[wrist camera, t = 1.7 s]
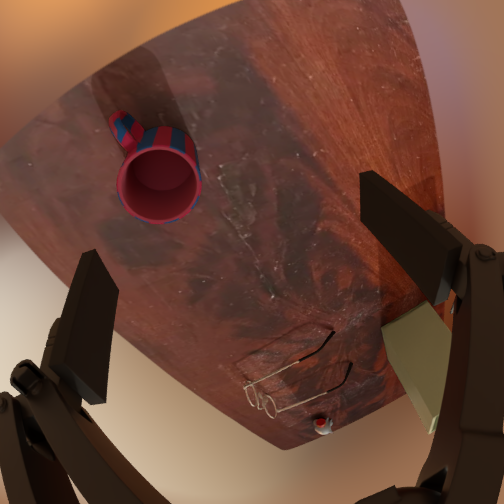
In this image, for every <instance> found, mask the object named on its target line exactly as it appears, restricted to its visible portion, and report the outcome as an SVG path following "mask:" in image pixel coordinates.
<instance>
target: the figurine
mask: <svg viewBox="0 0 504 504" xmlns="http://www.w3.org/2000/svg"><path fill="white" fill-rule="evenodd" d="M328 419H329V418H327V419H326V420H325V419H322V418H321V419H316V420H314V422H313V424H314V426H315V430H316V431H317V432H318V433H320V434H328V433H333V432H332V431H331V427H330V426H331V425H332V424H333V422H332V419H331V421H330V422H329V423H328Z"/></svg>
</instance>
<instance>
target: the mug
mask: <svg viewBox="0 0 504 504" xmlns="http://www.w3.org/2000/svg"><path fill="white" fill-rule="evenodd" d="M123 125H124V126H125V127H126V128H127V129H128V130H129V131H130V132H131V134H132V135H133V136H134V138H135V139H134V138H133V137H132V136H131V135H130V134H129V133H128V131H127V130H126V129H125V127H124V126H123ZM109 127H110V130H111V132H112V134H113V135H114V137H115V138H116V140H117V141H118V142H119V143H120V145H121V146H122V147H123V148H124V149H125V150H126V151H127V152H128V154H127V156H126V158H125V160H124V162H123V164H122V166H121V168H120V170H119V173H118V176H117V184H116V185H117V193H118V197H119V199H120V201H121V203H122V205H123V206H124V208H125V209H126V210H127V211H128V212H129V213H130V214H131V215H132V216H134V217H135V218H137V219H139V220H141V221H143V222H147V223H151V224H166V223H171V222H174V221H176V220H178V219H180V218H182V217H184V216H185V215H186V214H188V213H189V212H190V211H191V210H192V209H193V207H194V206H195V204H196V203H197V201H198V199H199V196H200V193H201V186H202V181H201V174H200V168H199V162H198V156H197V150H196V147H195V145H194V143H193V141H192V140H191V139H190V137H189V136H188V135H187V134H185V133H184V132H183V131H181V130H179V129H176V128H174V127H168V126H159V127H154V128H151V129H149V130H147V131H145V130H144V128H143V127H142V126H141V125H140V124H139V123H138V122H137V121H136V120H135V119H134V118H133V117H132V116H131V115H130V114H128V113H127V112H125V111H122V110H118V111H116V112H115V113H113V114H112V115H111V116H110V118H109Z"/></svg>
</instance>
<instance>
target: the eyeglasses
mask: <svg viewBox="0 0 504 504" xmlns="http://www.w3.org/2000/svg"><path fill="white" fill-rule="evenodd" d="M335 333H336V332H335V331H332V332H331V333H330V335H329V336H328V337H327V339H326V340H325V342H324V343H323V345H322V346H321V347H320V348H319V349H318V350H317V351H315V352H313V353H311V354H309V355H307V356H305V357H303V358H301V359H299V360H298V361H296V362H295V363H298V362H301V361H303V360H305V359H307V358H309V357H311V356H313V355H315V354H316V353H318V352H319V351H320V350H321V349H322V348H323V347H324V346H325V345H326V343H327V342H328V341H329V340H330V339H331V337H332V336H333V335H334V334H335ZM295 363H293V364H295ZM293 364H291V365H293ZM291 365H289V366H291ZM352 365H353V363H352V362H350V364H349V367H348V370H347V373H346V376H345V379H344V381H343V382H342V383H341V384H340V385H339V386H337V387H335V388H333V389H331V390H328V391H326V392H325V393H323V394H326V393H329V392H331V391H333V390H335V389H337V388H339V387H341V386H342V385H343V384H344V383H345V381H346V379H347V377H348V375H349V373H350V370H351V368H352ZM289 366H287V367H289ZM287 367H286V366H285V367H283V368H281V369H279V370H277V371H275V372H273V373H271V374H269V375H266V376H264V377H262V378H260V379H258V380H255V381H253V382H251V381H246V382H245V385H244V386H243V388H244V390H245V392H246V396H247V399H248V401H249V403H250V404H251V405H252V406H256V405H257V404H258V406H259V403H258V402H259V400H258V397H257V393H256V390H255V388H254V386H253V384H254V383H256V382H258V381H261V380H263V379H265V378H267V377H269V376H271V375H273V374H275V373H277V372H280V371H282V370H284V369H286V368H287ZM247 382H249V384H247ZM250 385H251V386H252V388H253V390H254V393H255V398H256V403H255V405H253V404H252V403H251V401H250V399H249V397H248V394H247V387H248V386H250ZM320 395H322V394H320ZM320 395H318V396H320ZM258 396H259V397H260V398H261V399H262V406H263V408H258V409H264V408H265V411H266V413H267V414H268V415H269V416H270V414H269V413H268V411H267V409H266V407H265V402H266V404H267V402H268V399H267V398H265V397H266V396H267V397H269V398H270V399H271V400H272V402H273V404H274V406H275V411H276V414H275V417H276V416H277V412H280V411H283V410H286V409H288V408H291V407H294V406H296V405H299V404H301V403H304V402H306V401H309V400H311V399H314V398H316V397H317V396H314V397H312V398H309V399H307V400H304V401H302V402H299V403H297V404H294V405H291V406H289V407H286V408H283V409H279V410H278V409H277V408H276V405H275V403H274V401H273V399H272V398H271V397H270V396H269V395H264V396H263V398H262V395H261V394H260V392H258ZM260 398H259V399H260ZM270 417H271V418H275V417H272V416H270Z"/></svg>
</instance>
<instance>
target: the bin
mask: <svg viewBox="0 0 504 504" xmlns="http://www.w3.org/2000/svg"><path fill="white" fill-rule="evenodd" d="M381 330H382V335H383V340H384V344H385V349H386V354H387V358H388V360H389V362H390V364H391V365H392V367H393V369H394V371H395V373H396V374H397V376H398V378H399V380H400V382H401V383H402V385H403V387H404V389H405V391H406V392H407V394H408V396H409V398H410V400H411V402H412V404H413V406H414V407H415V409H416V411H417V413H418V415H419V417H420V419H421V421H422V423H423V424H424V427H425V428H426V430H427V432H428V434H430V433H432V432H433V431H435V430H436V427H437V423H438V418H439V414H440V409H441V404H442V399H443V394H444V388H445V383H446V376H447V370H448V363H449V355H450V347H451V338H452V333H451V332H450V330H449V329H448V328H447V326H446V325H445V324H444V322H443V321H442V320H441V318H440V317H439V316H438V314H437V313H436V312H435V310H434V309H433V308H432V306H431V305H430V304H429V303H428V301H427V300H426V301H424V302H423V303H421V304H419V305H418V306H416V307H415V308H413V309H411V310H410V311H408V312H406V313H405V314H403V315H401V316H400V317H398V318H396V319H395V320H393V321H391V322H390V323H388V324H386V325H384V326H383V327H381Z"/></svg>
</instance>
